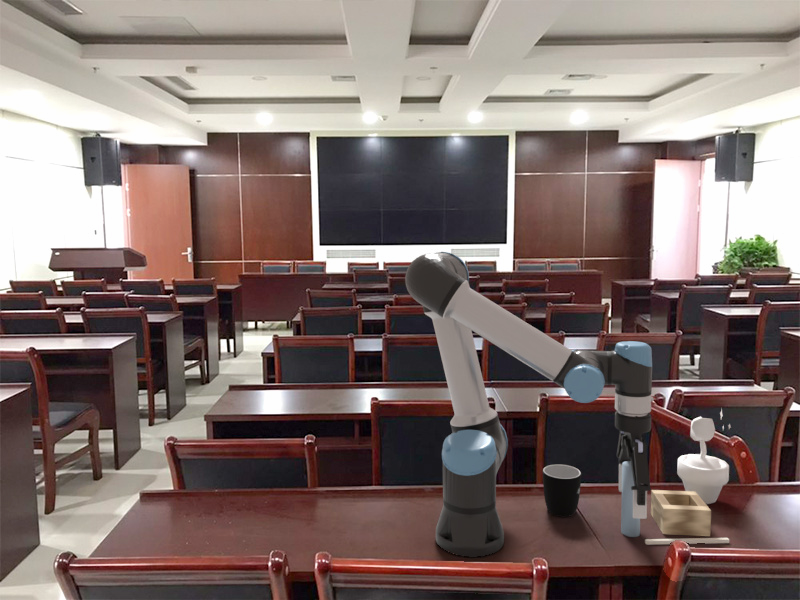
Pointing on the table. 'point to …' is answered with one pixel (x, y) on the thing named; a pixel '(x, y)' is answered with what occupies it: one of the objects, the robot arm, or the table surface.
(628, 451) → the robot arm
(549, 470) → the mug
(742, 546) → the table surface
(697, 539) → the white thin rod
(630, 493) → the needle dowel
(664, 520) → the wooden box
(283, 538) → the table surface
